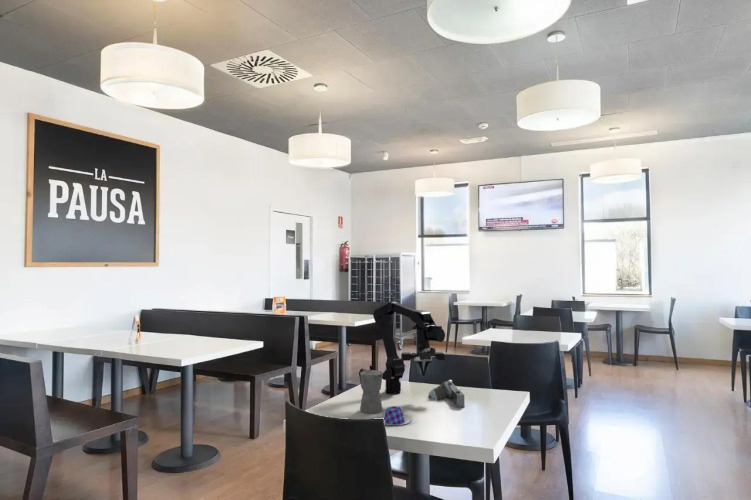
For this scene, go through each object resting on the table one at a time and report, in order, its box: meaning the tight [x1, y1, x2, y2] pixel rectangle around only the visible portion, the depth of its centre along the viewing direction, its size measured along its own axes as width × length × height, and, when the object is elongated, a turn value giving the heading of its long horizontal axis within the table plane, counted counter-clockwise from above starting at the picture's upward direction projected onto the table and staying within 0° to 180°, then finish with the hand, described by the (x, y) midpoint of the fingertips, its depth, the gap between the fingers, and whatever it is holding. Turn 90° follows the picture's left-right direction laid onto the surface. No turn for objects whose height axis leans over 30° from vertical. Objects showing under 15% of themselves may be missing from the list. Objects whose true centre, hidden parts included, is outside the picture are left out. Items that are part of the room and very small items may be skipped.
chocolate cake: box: [427, 381, 451, 401], centre depth 222 cm, size 10×7×12 cm
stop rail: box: [444, 379, 465, 408], centre depth 219 cm, size 3×26×7 cm, turn 3°
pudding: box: [380, 405, 411, 426], centre depth 186 cm, size 12×12×5 cm
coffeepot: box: [358, 364, 384, 415], centre depth 202 cm, size 15×9×18 cm, turn 33°
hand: (423, 376), depth 219 cm, fingers closed
